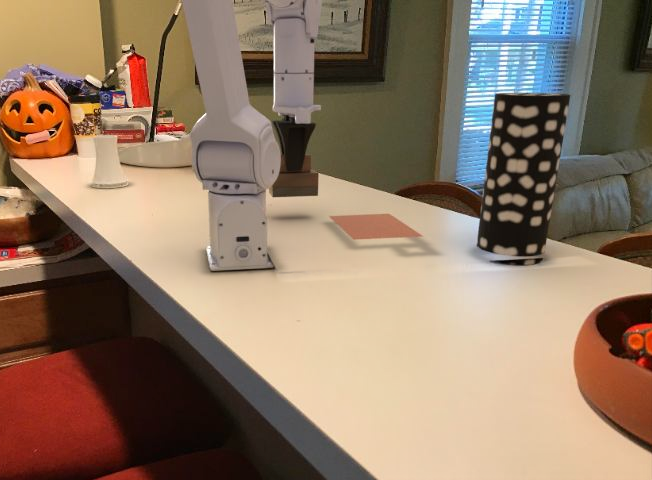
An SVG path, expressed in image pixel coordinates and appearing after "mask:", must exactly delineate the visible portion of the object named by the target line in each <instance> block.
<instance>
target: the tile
mask: <svg viewBox="0 0 652 480" xmlns="http://www.w3.org/2000/svg"><path fill="white" fill-rule="evenodd" d="M328 217H329V219H331V220H332V221H333V222H334V223H335V224H336V225H337V226H339V228H340V229H342V230H343V231H344V232H345V233H346V234H347V235H348V236H349V237H350V238H351V239H352V240H355V241H356V240H374V239H395V238H397V239H398V238H416V237H418V238H419V237H420V238H421V237H423V234H420V232H417V231H416V230H415V229H413V228H411V227H410V226H409V225H407V224H406V223H404V222H403V221H402V220H400V219H398V218H396V217H395V216H394V215H392V214H390V213H370V214H345V215H344V214H343V215H329V216H328Z"/></svg>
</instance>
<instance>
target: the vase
mask: <svg viewBox="0 0 652 480" xmlns="http://www.w3.org/2000/svg"><path fill="white" fill-rule="evenodd" d="M92 138H93V139H92V140H93V143H94V148H95V166H94V167H95V168H94V174H93V178H92V179H91V180H90V182H91V185H90V187H92V188H95V189H96V188H97V189H115V188H122V187H127V186H128V185H129V182H128V181H129V179H128V178H127V177H126V175H125V173H124V170H123V167H122V165H121V162H120V161H119V157H118V150H119V149H118V135H116V134H98V135H97V134H96V135H93V136H92Z"/></svg>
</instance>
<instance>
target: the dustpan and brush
mask: <svg viewBox="0 0 652 480" xmlns="http://www.w3.org/2000/svg"><path fill="white" fill-rule="evenodd" d="M153 137H154V139H155V140H156V141H150V142H143V143H138V144H132V145H128V146H126V147H122V148H119V149H117V150H118V157H119V161H120V163H123V164H127V165H130V166H131V165H132V166H138V167H145V168H165V169H166V168H169V169H171V168H182V167H190V166H191V167H192V163H191V154H192V146H191V139H190V133H187V134H182V135H181V137H180V138H178V137H175V136H172V135H169V134H164V133H163V134H155V135H154V136H153Z"/></svg>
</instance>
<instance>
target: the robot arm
mask: <svg viewBox="0 0 652 480" xmlns="http://www.w3.org/2000/svg"><path fill="white" fill-rule="evenodd" d="M263 3H264V5H265V9H266V15H267V18H268V22H269V23H270V24H271V25H272V26H273V105H272V112H274V113H278V116H279V117H283V118H282V119H281V120H279V119H277V120H272V121H271V120H270V119H269V118H268V117H266V116H265V115H264V114H262V113H261V112H260V111H258V110H257V109H255V108H254V106H252V105H251V103H250V97H249V91H248V85H247V81H246V75H245V74H246V73H245V69H244V62H243V57H242V50H241V44H240V38H239V34H238V33H239V32H238V26H237V19H236V16H235V15H236V14H235V10H234V9H235V8H234V2H233V0H181V4H182V8H183V14H184V17H185V22H186V28H187V31H188V37H189V41H190V46H191V50H192V54H193V59H194V60H193V61H194V64H195V68H196V69H195V70H196V72H197V73H196V74H197V78H198V83H199V87H200V90H201V97H202V101H203V106H204V109H205V114H203V115H202V116H201V117H200V118H199V119H198V120H197V121H196V123H195V124H194V125H193V126H192V128H191V131H190V132H189V134H190V139H191V146H192V154H191V163H192V165H191V168H192V171H193V174H194V175H195V178H196V179H197V180H198V182H200V183H201V184H202V190H204V191H207V202H208V203H207V205H208V225H209V229H208V230H209V246H206V247H205V253H206V257H207V261H208V266H209V270H210V271H213V272H215V271H216V272H218V271H234V270H238V271H239V270H255V269H257V270H258V269H272V268H275V267H276V265H275V263H274V262H273V260H272V257H271V255H270V254H269V252H268V219H267V190H269V188H271V186H272V185H273V183H274V182H275V181H276V179H277V177H278V175H279V171H280V165H281V154H284V155H285V162H286V167H287V170H288V171H301V170H302V167H303V163H304V158H305V154H307V153H306V152H307V149H308V144H309V142H310V139H311V137H312V135H313V133H314V131H315V129H316V126H317V123H315V122H312V119H311V118H312V113H314V112H315V111H322V105H320V104H314V91H315V90H314V86H315V83H314V82H315V43H316V42H315V40H316V39H317V38H318V35H319V25H320V20H321V17H322V16H321V15H322V11H323V9H322V8H323V1H322V0H263ZM272 126H273V127H272ZM273 128H274V129H273ZM274 130H275V131H276V132H275V133H276V135H277V138H278V141H277V140H276V136H275V134H274ZM278 142H279V143H278Z"/></svg>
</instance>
